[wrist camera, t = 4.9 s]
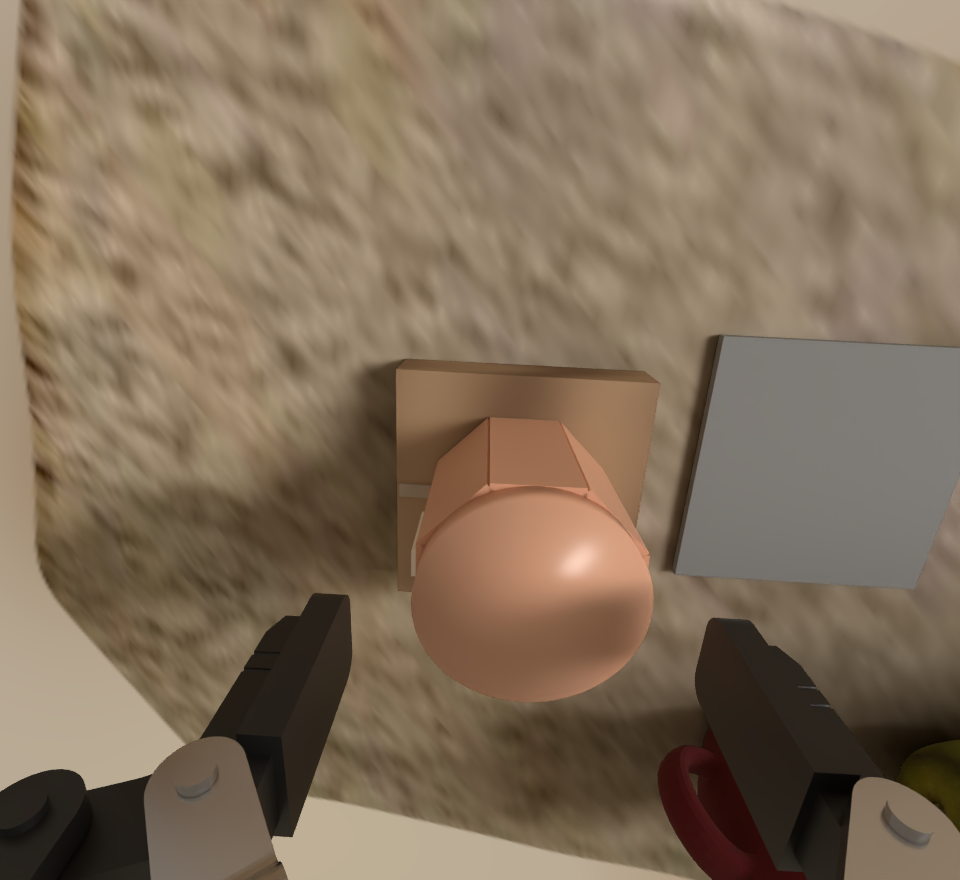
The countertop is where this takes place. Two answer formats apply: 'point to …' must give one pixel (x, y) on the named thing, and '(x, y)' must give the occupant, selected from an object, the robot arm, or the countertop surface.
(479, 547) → the cap
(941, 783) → the apple
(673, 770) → the mug
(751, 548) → the mat
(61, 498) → the countertop surface
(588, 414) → the post block
